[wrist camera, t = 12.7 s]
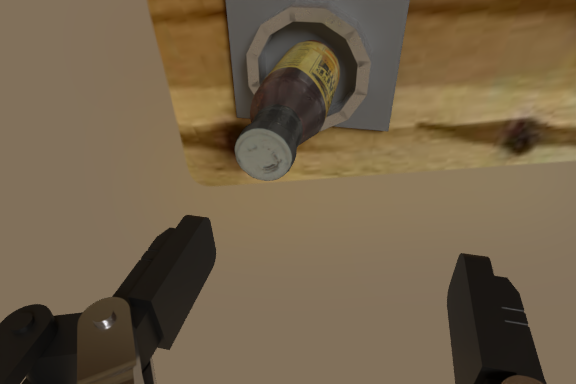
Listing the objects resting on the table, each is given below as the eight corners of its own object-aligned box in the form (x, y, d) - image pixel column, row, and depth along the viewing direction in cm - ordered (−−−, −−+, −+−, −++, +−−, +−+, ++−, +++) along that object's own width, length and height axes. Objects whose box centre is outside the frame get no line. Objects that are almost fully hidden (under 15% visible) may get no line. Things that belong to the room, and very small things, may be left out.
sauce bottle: (339, 96, 43) (309, 207, 27) (284, 92, 44) (224, 197, 28) (344, 34, 39) (311, 123, 23) (283, 31, 40) (213, 114, 24)
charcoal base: (409, -8, 36) (410, -5, 36) (388, 126, 45) (388, 131, 44) (228, -13, 40) (224, -11, 39) (240, 113, 48) (236, 117, 47)
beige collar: (378, 3, 36) (377, 10, 34) (364, 122, 44) (362, 135, 42) (251, -2, 39) (242, 5, 36) (258, 113, 46) (251, 124, 44)
